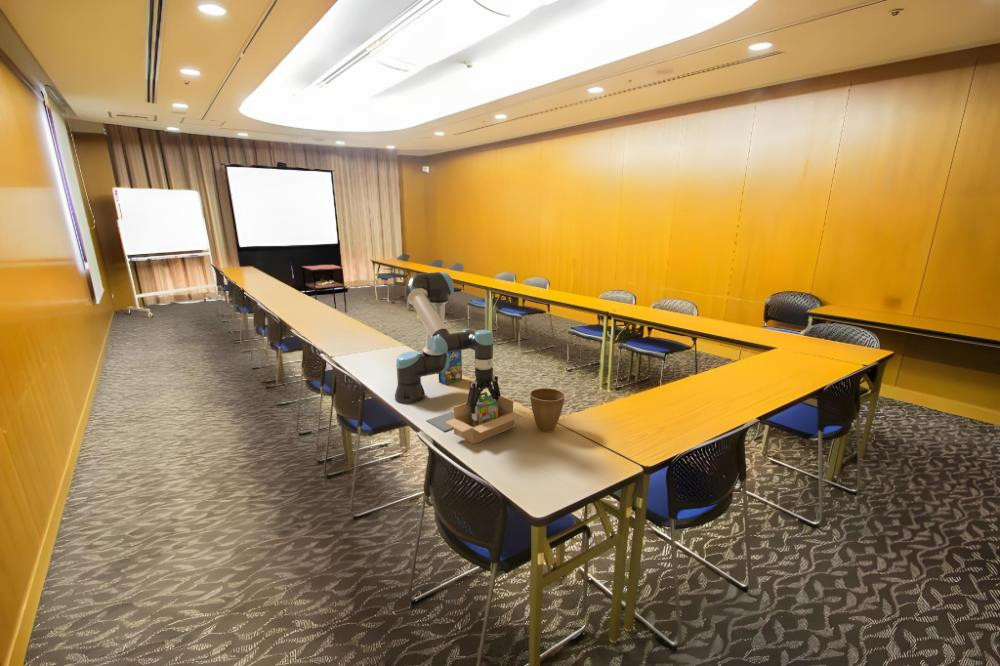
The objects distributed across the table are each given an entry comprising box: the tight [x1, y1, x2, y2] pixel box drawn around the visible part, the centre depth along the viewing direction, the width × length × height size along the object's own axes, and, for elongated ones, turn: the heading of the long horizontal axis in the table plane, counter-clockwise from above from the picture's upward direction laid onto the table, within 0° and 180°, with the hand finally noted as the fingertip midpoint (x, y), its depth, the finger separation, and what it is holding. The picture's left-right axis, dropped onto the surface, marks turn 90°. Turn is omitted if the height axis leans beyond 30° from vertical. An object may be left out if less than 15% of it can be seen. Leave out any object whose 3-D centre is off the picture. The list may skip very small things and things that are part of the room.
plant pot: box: [529, 387, 566, 433], centre depth 188 cm, size 15×15×16 cm
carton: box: [445, 394, 523, 445], centre depth 184 cm, size 18×28×12 cm, turn 132°
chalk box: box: [470, 391, 498, 427], centre depth 187 cm, size 9×9×15 cm
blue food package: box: [438, 350, 463, 385], centre depth 244 cm, size 6×12×25 cm, turn 134°
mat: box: [426, 411, 454, 433], centre depth 196 cm, size 14×14×1 cm
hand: (484, 416), depth 187 cm, fingers closed on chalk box, 10 cm apart
